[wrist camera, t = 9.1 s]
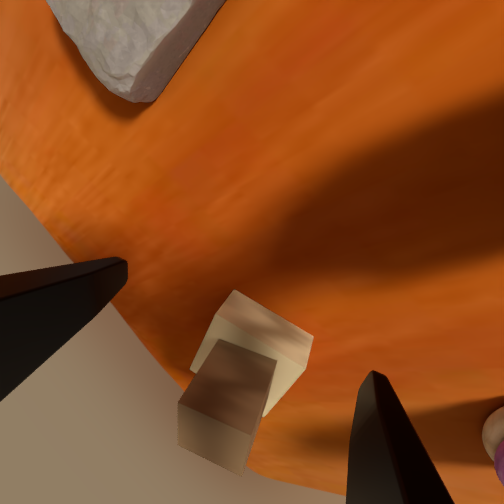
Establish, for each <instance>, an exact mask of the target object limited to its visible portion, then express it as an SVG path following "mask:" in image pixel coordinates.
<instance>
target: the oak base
mask: <svg viewBox="0 0 504 504" xmlns="http://www.w3.org/2000/svg"><path fill="white" fill-rule="evenodd" d="M313 337H314V336H312V335H310V334H309V333H307V332H305V331H304V330H302V329H300V328H299V327H297V326H295V325H294V324H292V323H290V322H289V321H287V320H285V319H283V318H282V317H280V316H278V315H277V314H275V313H273V312H272V311H270V310H268V309H267V308H265V307H263V306H262V305H260V304H258V303H257V302H255V301H253V300H252V299H250V298H248V297H247V296H245V295H243V294H242V293H240V292H238V291H237V290H235V289H234V290H233V291H232V293H231V294H230V295H229V297H228V298H227V299H226V300H225V302H224V303H223V304H222V306H221V307H220V308H219V310H218V311H217V312H216V314H215V316H214V318H213V320H212V322H211V324H210V326H209V329H208V331H207V333H206V335H205V337H204V339H203V341H202V343H201V346H200V348H199V350H198V352H197V354H196V356H195V358H194V360H193V363H192V365H191V367H190V370H191V371H193V372H194V373H197V372H198V370H199V369H200V367H201V366H202V364H203V362H204V361H205V359H206V358H207V356H208V355H209V353H210V351H211V350H212V348H213V347H214V345H215V344H216V342H217V341H218V339H221V340H224V341H227V342H229V343H232V344H235V345H237V346H240V347H243V348H245V349H248V350H250V351H253V352H256V353H258V354H261V355H264V356H266V357H269V358H272V359H274V360H277V364H276V368H275V372H274V376H273V380H272V384H271V388H270V392H269V396H268V400H267V403H266V406H265V409H264V412H263V415H262V417H265V416H266V414H267V413H268V412H269V411H270V410H271V409H272V407H273V406H274V405H275V404H276V403H277V402H278V400H279V399H280V398H281V397H282V396H283V395H284V394H285V392H286V391H287V390H288V389H289V388H290V387H291V385H292V384H293V383H294V382H295V381H296V380H297V379H298V377H299V376H300V375H301V374H302V373H303V372H304V370H305V369H306V366H307V362H308V358H309V354H310V350H311V345H312V341H313Z"/></svg>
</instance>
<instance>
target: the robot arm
mask: <svg viewBox="0 0 504 504" xmlns="http://www.w3.org/2000/svg"><path fill="white" fill-rule="evenodd" d="M127 279H128V263H127V261H126V260H124V259H122V258H120V257H110V258H104V259H98V260H92V261H85V262H79V263H73V264H67V265H61V266H55V267H49V268H43V269H37V270H31V271H25V272H19V273H13V274H8V275H1V276H0V402H1V401H2V400H3V399H4V398H5V397H6V396H7V395H8V394H9V393H11V392H12V391H13V390H14V389H15V388H16V387H17V386H18V385H20V384H21V383H22V382H23V381H24V380H25V379H26V378H27V377H28V376H30V375H31V374H32V373H33V372H34V371H35V370H36V369H37V368H38V367H39V366H41V365H42V364H43V363H44V362H45V361H46V360H47V359H48V358H49V357H51V356H52V355H53V354H54V353H55V352H56V351H57V350H59V349H60V347H62V346H63V345H64V344H65V343H66V342H67V341H69V340H70V338H72V337H73V336H74V335H75V334H76V333H77V332H79V331H80V330H81V329H82V328H83V327H84V326H85V325H86V324H87V323H89V322H90V321H91V320H92V319H93V318H94V317H95V316H96V315H97V314H98V313H99V312H100V311H101V310H102V309H103V308H104V307H105V306H106V305H107V303H108V302H109V301H110V300H111V299H112V298H113V297H114V296H115V295H116V294H117V293H118V292H119V290H120V289H121V288H122V287H123V286H124V285H125V284H126V282H127ZM346 504H455V503H454V502H453V500H452V498H451V496H450V494H449V492H448V490H447V488H446V487H445V485H444V483H443V481H442V479H441V477H440V475H439V474H438V472H437V470H436V468H435V466H434V464H433V462H432V460H431V459H430V457H429V455H428V453H427V451H426V449H425V447H424V445H423V444H422V442H421V440H420V438H419V436H418V434H417V432H416V430H415V429H414V427H413V425H412V423H411V421H410V419H409V417H408V415H407V414H406V412H405V410H404V408H403V406H402V404H401V402H400V400H399V399H398V397H397V395H396V393H395V391H394V389H393V387H392V386H391V384H390V382H389V380H388V378H387V377H386V376H385V375H383V374H381V373H379V372H377V371H374V370H372V371H371V372H370V373H369V374H368V376H367V377H366V378H365V380H364V381H363V383H362V384H361V386H360V388H359V391H358V396H357V402H356V407H355V413H354V419H353V425H352V430H351V436H350V444H349V457H348V475H347V492H346Z"/></svg>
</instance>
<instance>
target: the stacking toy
mask: <svg viewBox="0 0 504 504" xmlns="http://www.w3.org/2000/svg"><path fill="white" fill-rule="evenodd" d="M482 440H483V444H484V447H485V449H486V451H487V453H488V455H489V456H490V458H491V459H492V460H493V461H494V466H495V470H496V473H497V475H498V478H499V480H500V481H501V483H502V484H503V486H504V406H503V407H501V408H499V409H498V410H496V411H495V412H493V413H492V414H491V415H490V416H489V417H488V418H487V420H486V422H485V423H484V426H483V430H482Z"/></svg>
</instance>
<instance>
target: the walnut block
mask: <svg viewBox="0 0 504 504" xmlns="http://www.w3.org/2000/svg"><path fill="white" fill-rule="evenodd" d="M276 364H277V360H274V359H272V358H269V357H266V356H264V355H261V354H258V353H256V352H253V351H250V350H248V349H245V348H243V347H240V346H237V345H235V344H232V343H229V342H227V341H224V340H221V339H218V341H217V342H216V344H215V345H214V347H213V348H212V350H211V351H210V353H209V355H208V356H207V358H206V359H205V361H204V362H203V364H202V366H201V367H200V369H199V370H198V372H197V373H196V375H195V376H194V378H193V380H192V381H191V383H190V384H189V386H188V387H187V389H186V391H185V392H184V394H183V395H182V397H181V398H180V400H179V401H178V445H179V446H181V447H183V448H185V449H187V450H189V451H191V452H193V453H195V454H197V455H199V456H201V457H203V458H205V459H207V460H209V461H211V462H213V463H215V464H217V465H219V466H221V467H223V468H225V469H227V470H229V471H231V472H233V473H235V474H238V475H239V476H242V475H243V471H244V469H245V466H246V463H247V460H248V457H249V454H250V451H251V448H252V445H253V442H254V439H255V436H256V433H257V430H258V427H259V424H260V421H261V418H262V415H263V412H264V409H265V406H266V403H267V400H268V396H269V392H270V388H271V384H272V380H273V376H274V372H275V368H276Z"/></svg>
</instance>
